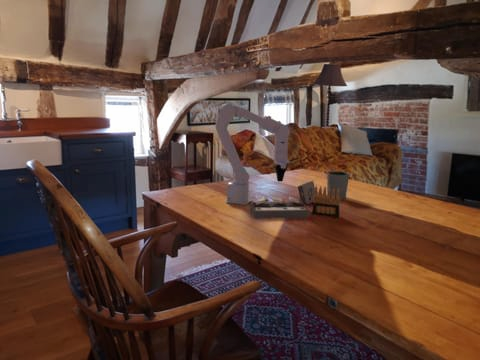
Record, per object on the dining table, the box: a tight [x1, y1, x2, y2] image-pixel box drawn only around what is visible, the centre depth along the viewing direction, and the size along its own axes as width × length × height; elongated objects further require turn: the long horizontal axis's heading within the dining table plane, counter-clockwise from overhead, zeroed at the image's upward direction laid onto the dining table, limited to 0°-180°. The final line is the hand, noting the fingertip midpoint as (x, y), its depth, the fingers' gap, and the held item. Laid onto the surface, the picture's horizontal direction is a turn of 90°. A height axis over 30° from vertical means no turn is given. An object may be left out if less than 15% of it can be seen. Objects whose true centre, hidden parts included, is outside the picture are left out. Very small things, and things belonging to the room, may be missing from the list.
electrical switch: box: [297, 180, 316, 205], centre depth 166 cm, size 9×5×9 cm, turn 141°
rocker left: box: [254, 196, 270, 205], centre depth 150 cm, size 5×3×2 cm, turn 93°
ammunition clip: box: [311, 185, 341, 219], centre depth 146 cm, size 11×2×12 cm, turn 70°
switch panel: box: [250, 201, 310, 219], centre depth 149 cm, size 22×12×4 cm, turn 94°
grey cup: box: [326, 170, 350, 201], centre depth 172 cm, size 10×10×12 cm
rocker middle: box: [271, 196, 287, 204], centre depth 150 cm, size 5×3×2 cm, turn 96°
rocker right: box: [288, 195, 302, 204], centre depth 151 cm, size 5×3×2 cm, turn 96°
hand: (279, 181), depth 164 cm, fingers closed
